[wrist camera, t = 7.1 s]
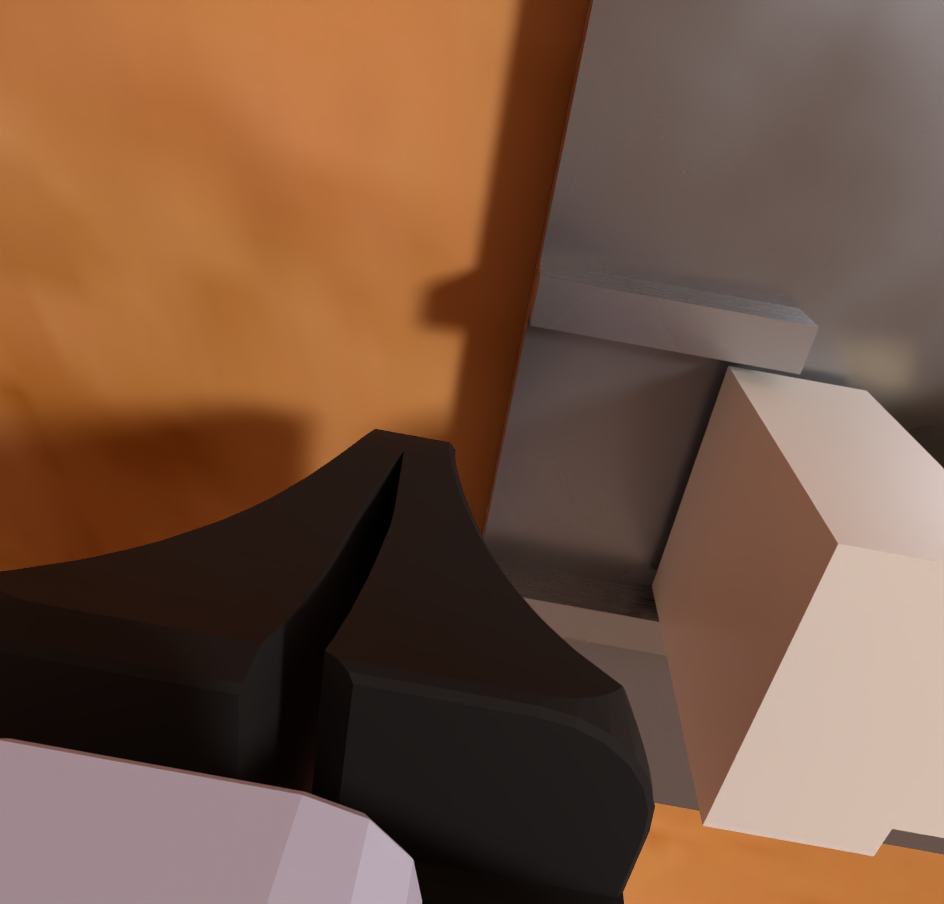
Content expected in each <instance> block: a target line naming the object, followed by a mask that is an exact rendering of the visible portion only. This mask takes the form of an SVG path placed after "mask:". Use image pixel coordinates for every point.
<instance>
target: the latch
mask: <svg viewBox="0 0 944 904" xmlns="http://www.w3.org/2000/svg"><path fill="white" fill-rule="evenodd" d="M652 589H653V594H654V599H655V603H656V608H657V613H658V618H659V622H660V627H661V632H662V636H663V641H664V646H665V651H666V655H667V660H668V665H669V669H670V674H671V679H672V683H673V688H674V693H675V698H676V702H677V707H678V712H679V716H680V721H681V726H682V730H683V735H684V740H685V745H686V749H687V754H688V759H689V763H690V768H691V773H692V777H693V782H694V787H695V792H696V796H697V801H698V806H699V810H700V815H701V820H702V825H703V826H708V827H713V828H719V829H724V830H730V831H736V832H741V833H747V834H752V835H758V836H764V837H769V838H775V839H780V840H786V841H792V842H797V843H803V844H808V845H814V846H819V847H825V848H831V849H836V850H842V851H847V852H853V853H859V854H864V855H870V856H874V855H875V854H876V852H877V851H878V849H879V848H880V846H881V845H882V843H883V842H884V840H885V839H886V837H887V836H888V834H889V833H890V831H891V830H892V829H896V830H901V831H907V832H913V833H918V834H924V835H929V836H935V837H941V838H944V468H943V467H942V466H941V465H940V464H939V463H938V462H937V461H936V460H935V459H934V458H933V457H932V456H931V455H930V454H929V453H928V452H927V451H926V450H925V449H924V448H923V447H922V446H921V445H920V444H919V443H918V442H917V441H916V440H915V439H914V438H913V437H912V436H911V435H910V434H909V433H908V432H907V431H906V430H905V429H904V428H903V427H902V426H901V425H900V424H899V423H898V422H897V421H896V420H895V419H894V418H893V417H892V416H891V415H890V414H889V413H888V412H887V411H886V410H885V409H884V408H883V407H882V406H881V405H880V404H879V403H878V402H877V401H876V400H875V399H874V398H873V397H872V396H871V395H870V394H869V393H868V392H867V391H865V390H860V389H854V388H849V387H843V386H838V385H832V384H827V383H821V382H816V381H810V380H805V379H799V378H794V377H788V376H782V375H777V374H771V373H766V372H760V371H755V370H749V369H744V368H738V367H733V366H728V368H727V371H726V374H725V377H724V380H723V383H722V386H721V388H720V391H719V394H718V397H717V400H716V403H715V406H714V409H713V411H712V414H711V417H710V420H709V423H708V426H707V429H706V432H705V435H704V437H703V440H702V443H701V446H700V449H699V452H698V455H697V458H696V460H695V463H694V466H693V469H692V472H691V475H690V478H689V481H688V484H687V486H686V489H685V492H684V495H683V498H682V501H681V504H680V507H679V509H678V512H677V515H676V518H675V521H674V524H673V527H672V530H671V532H670V535H669V538H668V541H667V544H666V547H665V550H664V553H663V556H662V558H661V561H660V564H659V567H658V570H657V573H656V576H655V579H654V581H653V584H652Z"/></svg>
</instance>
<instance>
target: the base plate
mask: <svg viewBox="0 0 944 904" xmlns="http://www.w3.org/2000/svg"><path fill="white" fill-rule="evenodd" d="M728 366H733V367H738V368H744V369H749V370H755V371H760V372H766V373H771V374H777V375H782V376H788V377H794V378H799V379H805V380H810V381H816V382H821V383H827V384H832V385H838V386H843V387H849V388H854V389H860V390H865V391H867V392H868V393H869V394H870V395H871V396H872V397H873V398H874V399H875V400H876V401H877V402H878V403H879V404H880V405H881V406H882V407H883V408H884V409H885V410H886V411H887V412H888V413H889V414H890V415H891V416H892V417H893V418H894V419H895V420H896V421H897V422H898V423H899V424H900V425H901V426H902V427H903V428H904V429H905V430H906V431H907V432H908V433H909V434H910V435H911V436H912V437H913V438H914V439H915V440H916V441H917V442H918V443H919V444H920V445H921V446H922V447H923V448H924V449H925V450H926V451H927V452H928V453H929V454H930V455H931V456H932V457H933V458H934V459H935V460H936V461H937V462H938V463H939V464H940V465H941V466H942V467H943V468H944V0H590V1H589V6H588V11H587V16H586V21H585V26H584V31H583V36H582V40H581V45H580V50H579V55H578V60H577V65H576V70H575V75H574V80H573V85H572V90H571V95H570V100H569V105H568V110H567V115H566V120H565V125H564V130H563V135H562V140H561V145H560V150H559V155H558V160H557V165H556V170H555V175H554V180H553V185H552V189H551V194H550V199H549V204H548V209H547V214H546V219H545V224H544V229H543V234H542V239H541V244H540V249H539V254H538V259H537V264H536V269H535V274H534V279H533V284H532V289H531V294H530V299H529V304H528V309H527V314H526V319H525V324H524V329H523V334H522V338H521V343H520V348H519V353H518V358H517V363H516V368H515V373H514V378H513V383H512V388H511V393H510V398H509V403H508V408H507V413H506V418H505V423H504V428H503V433H502V438H501V443H500V448H499V453H498V458H497V463H496V468H495V473H494V478H493V482H492V487H491V492H490V497H489V502H488V507H487V512H486V517H485V522H484V527H483V532H482V537H483V539H484V541H485V543H486V544H487V546H488V548H489V550H490V552H491V553H492V555H493V557H494V558H495V560H496V562H497V563H498V565H499V566H500V568H501V569H502V571H503V572H504V574H505V575H506V577H507V578H508V580H509V581H510V582H511V584H512V585H513V586H514V588H515V589H516V590H517V591H518V593H519V594H520V595H521V596H522V597H523V598H524V600H525V601H526V602H527V603H528V604H529V605H530V606H531V608H532V609H533V610H534V611H535V612H536V613H537V614H538V615H539V616H540V617H541V618H542V619H543V621H544V622H545V623H546V624H547V625H548V626H550V627H551V628H552V629H553V630H554V631H555V632H556V633H557V634H558V635H559V636H560V637H561V638H563V639H564V640H565V641H566V642H567V643H568V644H569V645H570V646H571V647H572V648H574V649H575V650H576V651H577V652H578V653H580V654H581V655H582V656H584V657H585V658H586V659H588V660H589V661H590V662H592V663H593V664H594V665H596V666H597V667H598V668H600V669H601V670H602V671H604V672H605V673H606V674H608V675H609V676H610V677H611V678H613V679H614V680H615V681H617V682H618V683H619V684H621V685H622V686H623V687H624V689H625V691H626V694H627V697H628V699H629V702H630V705H631V708H632V711H633V714H634V717H635V720H636V723H637V725H638V729H639V732H640V735H641V739H642V742H643V745H644V748H645V752H646V756H647V760H648V764H649V769H650V774H651V780H652V787H653V800H654V802H655V803H660V804H666V805H671V806H677V807H682V808H688V809H694V810H699V806H698V801H697V796H696V792H695V787H694V782H693V777H692V773H691V768H690V763H689V759H688V754H687V749H686V745H685V740H684V735H683V730H682V726H681V721H680V716H679V712H678V707H677V702H676V698H675V693H674V688H673V683H672V679H671V674H670V669H669V665H668V660H667V655H666V651H665V646H664V641H663V636H662V632H661V627H660V622H659V618H658V613H657V608H656V603H655V599H654V594H653V589H652V584H653V581H654V579H655V576H656V573H657V570H658V567H659V564H660V561H661V558H662V556H663V553H664V550H665V547H666V544H667V541H668V538H669V535H670V532H671V530H672V527H673V524H674V521H675V518H676V515H677V512H678V509H679V507H680V504H681V501H682V498H683V495H684V492H685V489H686V486H687V484H688V481H689V478H690V475H691V472H692V469H693V466H694V463H695V460H696V458H697V455H698V452H699V449H700V446H701V443H702V440H703V437H704V435H705V432H706V429H707V426H708V423H709V420H710V417H711V414H712V411H713V409H714V406H715V403H716V400H717V397H718V394H719V391H720V388H721V386H722V383H723V380H724V377H725V374H726V371H727V368H728ZM699 811H700V810H699ZM883 843H884V844H889V845H895V846H900V847H906V848H912V849H917V850H923V851H928V852H934V853H939V854H944V838H941V837H935V836H929V835H924V834H918V833H913V832H907V831H901V830H896V829H892V830H891V831H890V833H889V834H888V836H887V837H886V839H885V840H884V842H883Z"/></svg>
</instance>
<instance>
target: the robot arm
mask: <svg viewBox="0 0 944 904" xmlns="http://www.w3.org/2000/svg"><path fill="white" fill-rule="evenodd" d="M654 808H655V805H654V800H653V787H652V780H651V774H650V769H649V764H648V760H647V756H646V752H645V748H644V745H643V742H642V739H641V735H640V732H639V729H638V725H637V723H636V720H635V717H634V714H633V711H632V708H631V705H630V702H629V699H628V697H627V694H626V691H625V689H624V687H623V686H622V685H621V684H619V683H618V682H617V681H615V680H614V679H613V678H611V677H610V676H609V675H608V674H606V673H605V672H604V671H602V670H601V669H600V668H598V667H597V666H596V665H594V664H593V663H592V662H590V661H589V660H588V659H586V658H585V657H584V656H582V655H581V654H580V653H578V652H577V651H576V650H575V649H574V648H572V647H571V646H570V645H569V644H568V643H567V642H566V641H565V640H564V639H563V638H561V637H560V636H559V635H558V634H557V633H556V632H555V631H554V630H553V629H552V628H551V627H550V626H548V625H547V624H546V623H545V622H544V621H543V619H542V618H541V617H540V616H539V615H538V614H537V613H536V612H535V611H534V610H533V609H532V608H531V606H530V605H529V604H528V603H527V602H526V601H525V600H524V598H523V597H522V596H521V595H520V594H519V593H518V591H517V590H516V589H515V588H514V586H513V585H512V584H511V582H510V581H509V580H508V578H507V577H506V575H505V574H504V572H503V571H502V569H501V568H500V566H499V565H498V563H497V562H496V560H495V558H494V557H493V555H492V553H491V552H490V550H489V548H488V546H487V544H486V543H485V541H484V539H483V537H482V535H481V533H480V531H479V529H478V527H477V525H476V522H475V520H474V518H473V516H472V513H471V511H470V508H469V506H468V503H467V500H466V498H465V495H464V492H463V489H462V486H461V483H460V480H459V476H458V472H457V467H456V462H455V449H454V448H453V446H452V445H451V444H450V443H449V442H444V441H438V440H433V439H427V438H422V437H417V436H411V435H406V434H400V433H395V432H389V431H384V430H378V429H375V430H373V431H372V432H370V433H368V434H367V435H366V436H364V437H363V438H361V439H360V440H359V441H357V442H356V443H355V444H353V445H352V446H351V447H349V448H348V449H347V450H345V451H344V452H343V453H341V454H340V455H338V456H337V457H336V458H334V459H333V460H331V461H330V462H328V463H327V464H326V465H324V466H323V467H321V468H320V469H318V470H317V471H315V472H314V473H312V474H311V475H309V476H308V477H306V478H305V479H303V480H301V481H299V482H298V483H296V484H294V485H293V486H291V487H289V488H288V489H286V490H284V491H282V492H281V493H279V494H277V495H276V496H274V497H272V498H270V499H268V500H266V501H264V502H262V503H260V504H258V505H256V506H254V507H251V508H249V509H247V510H245V511H242V512H240V513H238V514H235V515H233V516H231V517H229V518H226V519H224V520H221V521H219V522H216V523H213V524H210V525H207V526H204V527H201V528H198V529H195V530H192V531H189V532H186V533H183V534H181V535H178V536H175V537H172V538H169V539H166V540H162V541H159V542H155V543H151V544H147V545H144V546H140V547H136V548H132V549H128V550H124V551H119V552H115V553H110V554H106V555H102V556H97V557H92V558H87V559H81V560H76V561H69V562H63V563H56V564H50V565H43V566H37V567H30V568H24V569H17V570H10V571H1V572H0V904H624V899H623V891H624V888H625V886H626V884H627V881H628V879H629V877H630V875H631V872H632V870H633V868H634V865H635V863H636V861H637V858H638V856H639V854H640V852H641V849H642V847H643V845H644V842H645V840H646V838H647V835H648V833H649V831H650V826H651V822H652V817H653V813H654Z"/></svg>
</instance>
